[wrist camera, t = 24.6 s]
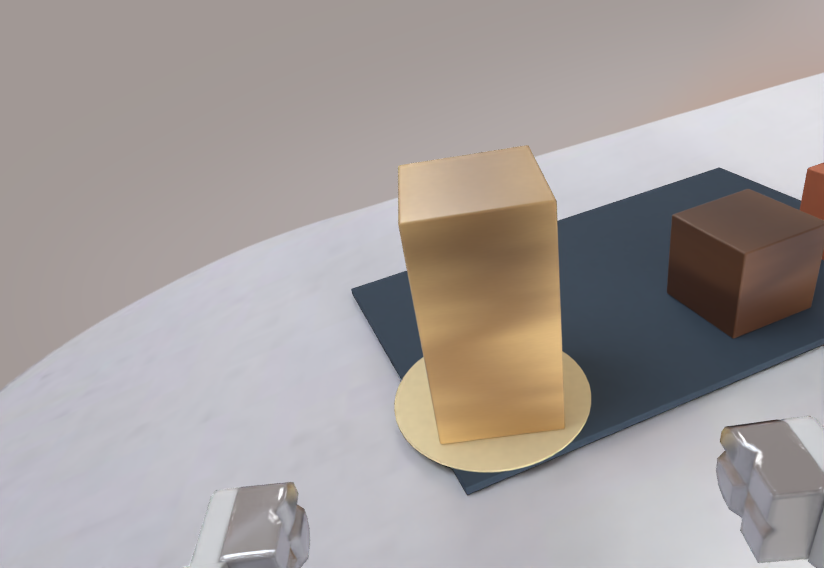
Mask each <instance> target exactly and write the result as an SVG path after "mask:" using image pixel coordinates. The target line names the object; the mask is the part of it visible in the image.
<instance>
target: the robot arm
mask: <svg viewBox="0 0 824 568" xmlns="http://www.w3.org/2000/svg"><path fill="white" fill-rule="evenodd" d="M720 442H721V444H722V446H723V448H724V449H725V451H724V452H723V453H722V454H721V455H720V456H719V457H718V458H717V468H716V473H717V479H718V485H719V488H720V491H721V494H722V496H723V499H724V500H725V502H726V504H727V506H728V508H729V509H730V510H731V511H733V512H734V513H736V514H737V515H739V516H740V517H742V523H741V529H740V531H741V533H742V534H743V536H744V538H745V540H746V542H747V544H748V545H749V547H750V549H751V551H752V553H753V555H754V556H755V558H756V560H757V562H758V563H764V562H775V561H787V560H799V559H808V562H809V563H811V564H812V565H813V566H814V567H816V568H824V428H823V427H822V426H821V425H820V423H819V422H818V421H817V420H816V419H815V418H813V417H811V416H804V417H796V418H789V419H781V420H771V421H764V422H756V423H749V424H742V425H735V426H727V427H725V428H724V429H723V430H722V432H721V438H720ZM297 500H298V492H297V489H296V487H295V485H294V483H293V482H287V483H276V484H266V485H256V486H246V487H239V488H229V489H220V490H216V491H215V492H214V493H213V495H212V496H211V498H210V501H209V504H208V507H207V510H206V514H205V517H204V520H203V523H202V527H201V530H200V533H199V536H198V540H197V543H196V546H195V549H194V553H193V556H192V559H191V562H190V566H186V567H182V568H301V567H302V566H303V564H304V563H305V562H306V561H307V559H308V557H309V548H310V530H309V524H308V518H307V515H306V512H305V510H304V508H302V507H300V506H299V505H297Z"/></svg>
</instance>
